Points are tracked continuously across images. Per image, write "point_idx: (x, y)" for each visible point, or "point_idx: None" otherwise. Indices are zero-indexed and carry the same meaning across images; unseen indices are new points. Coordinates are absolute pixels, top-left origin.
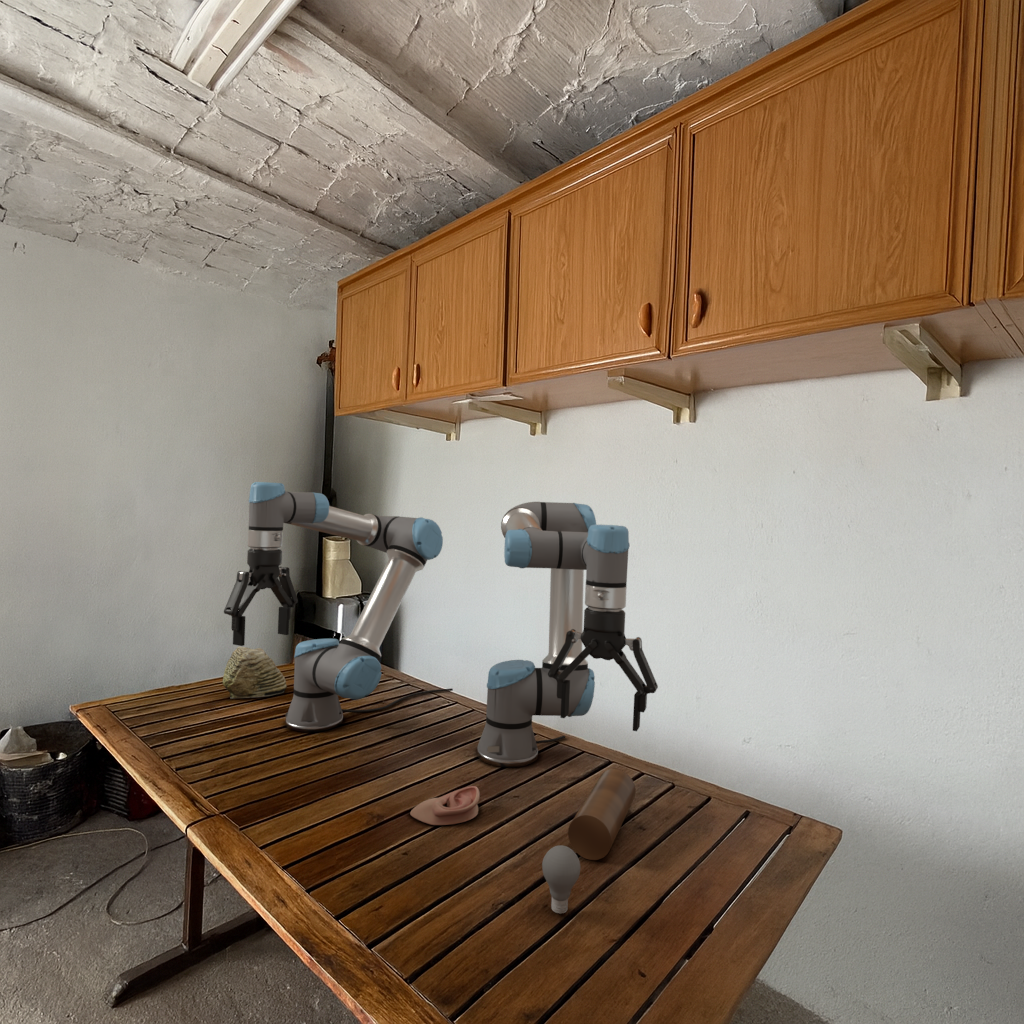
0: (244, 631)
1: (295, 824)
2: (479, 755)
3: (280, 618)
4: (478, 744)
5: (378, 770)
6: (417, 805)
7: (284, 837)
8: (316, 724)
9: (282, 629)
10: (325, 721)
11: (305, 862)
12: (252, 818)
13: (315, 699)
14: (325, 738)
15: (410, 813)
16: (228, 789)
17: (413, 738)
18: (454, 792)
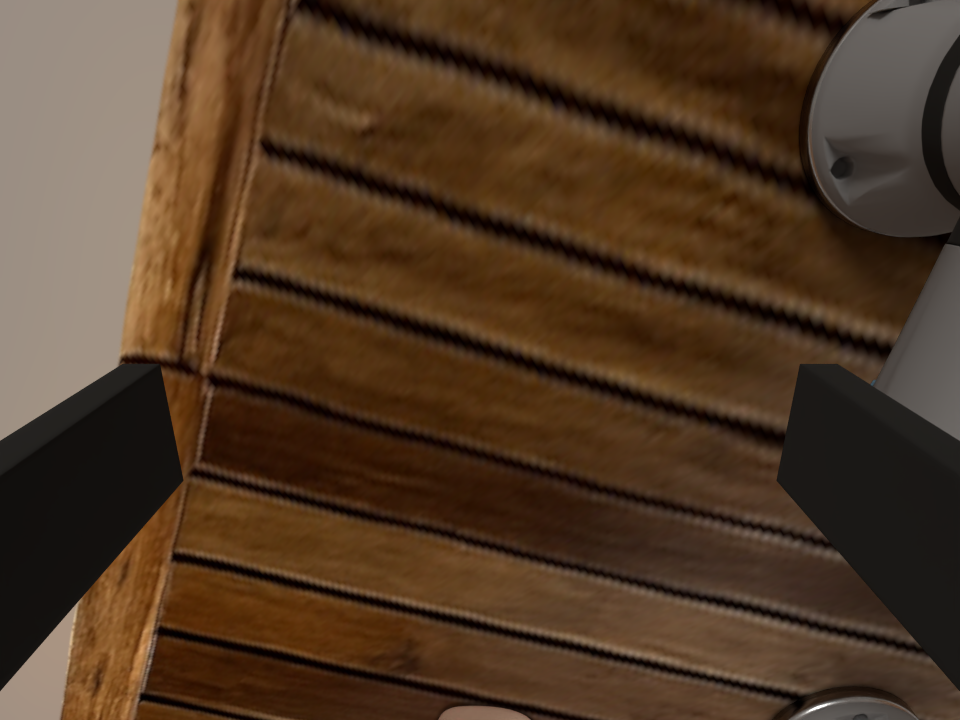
0: (89, 580)
1: (282, 552)
2: (790, 713)
3: (927, 498)
4: (829, 717)
5: (614, 547)
6: (475, 715)
7: (230, 567)
8: (836, 200)
9: (818, 456)
10: (867, 223)
11: (196, 648)
12: (241, 459)
13: (928, 182)
14: (774, 269)
15: (445, 712)
16: (307, 288)
17: None
18: None
